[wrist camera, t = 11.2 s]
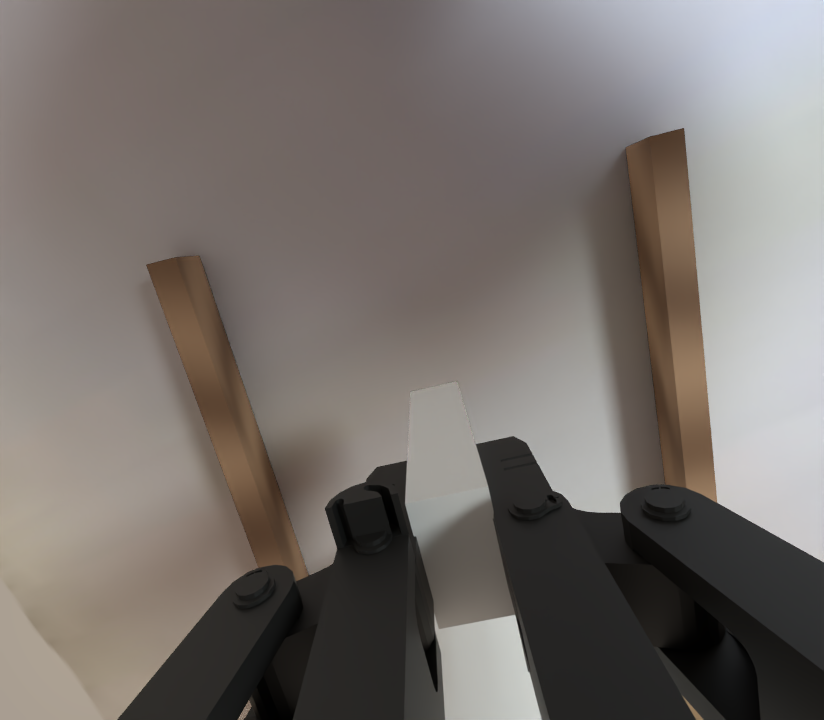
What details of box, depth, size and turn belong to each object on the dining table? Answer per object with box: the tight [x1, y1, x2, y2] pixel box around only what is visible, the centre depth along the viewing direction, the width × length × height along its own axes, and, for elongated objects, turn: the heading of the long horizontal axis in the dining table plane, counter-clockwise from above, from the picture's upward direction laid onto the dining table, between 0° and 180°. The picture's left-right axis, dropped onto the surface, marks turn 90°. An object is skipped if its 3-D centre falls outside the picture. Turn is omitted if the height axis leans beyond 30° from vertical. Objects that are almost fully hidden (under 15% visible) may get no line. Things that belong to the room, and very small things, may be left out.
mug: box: [434, 613, 542, 720], centre depth 17 cm, size 10×7×12 cm, turn 113°
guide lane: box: [146, 128, 717, 581], centre depth 21 cm, size 24×20×2 cm
